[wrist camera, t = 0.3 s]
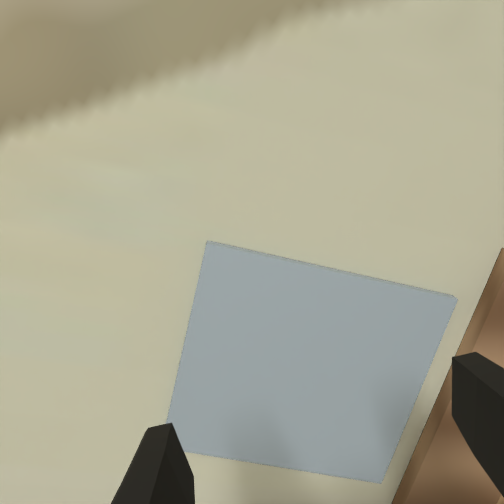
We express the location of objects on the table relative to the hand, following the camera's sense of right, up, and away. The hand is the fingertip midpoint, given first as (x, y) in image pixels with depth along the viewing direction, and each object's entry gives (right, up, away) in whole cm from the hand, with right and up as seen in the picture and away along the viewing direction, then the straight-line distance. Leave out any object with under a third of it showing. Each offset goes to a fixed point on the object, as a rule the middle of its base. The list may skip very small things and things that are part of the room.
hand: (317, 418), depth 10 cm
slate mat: (+1, -2, +12) cm, 12 cm away
